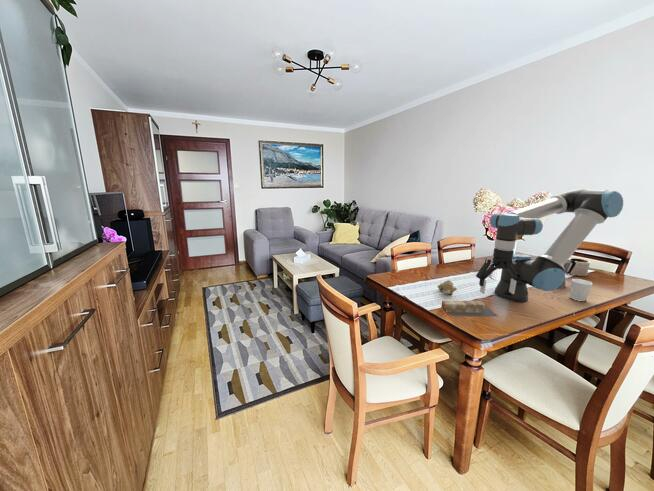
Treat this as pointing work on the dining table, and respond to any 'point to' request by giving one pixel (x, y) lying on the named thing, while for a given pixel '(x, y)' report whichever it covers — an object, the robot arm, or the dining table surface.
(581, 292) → the white cup
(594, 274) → the dining table surface
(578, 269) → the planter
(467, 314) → the rubber mat
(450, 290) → the turtle figurine
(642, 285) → the dining table surface
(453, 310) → the wooden block
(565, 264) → the coffeepot
